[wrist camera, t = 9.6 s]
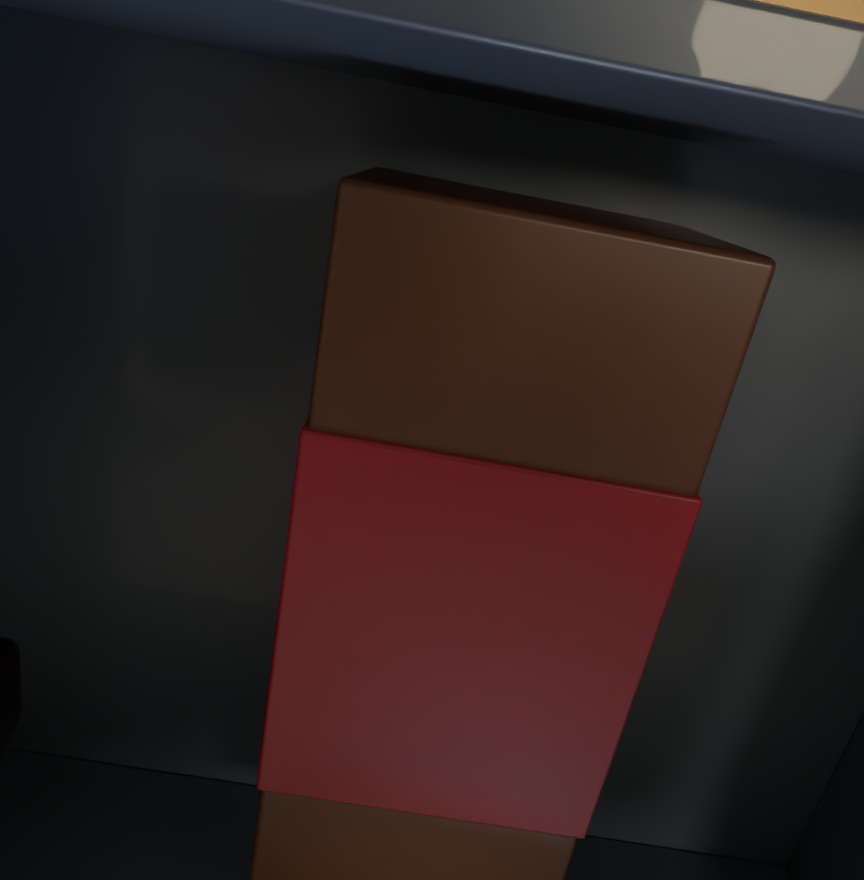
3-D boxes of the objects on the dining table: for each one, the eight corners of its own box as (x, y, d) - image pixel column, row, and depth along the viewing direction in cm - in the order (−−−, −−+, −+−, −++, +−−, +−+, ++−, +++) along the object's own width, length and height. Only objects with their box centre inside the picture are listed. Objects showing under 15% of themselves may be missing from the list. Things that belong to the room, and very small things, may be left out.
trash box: (-64, -50, 9) (-802, -329, 4) (1128, 189, 10) (1949, 247, 5) (-20, 740, 14) (-323, 1128, 9) (790, 863, 15) (995, 1291, 9)
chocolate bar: (685, 225, 10) (790, 261, 7) (520, 783, 14) (540, 968, 11) (367, 164, 10) (330, 174, 7) (286, 747, 13) (239, 925, 10)
